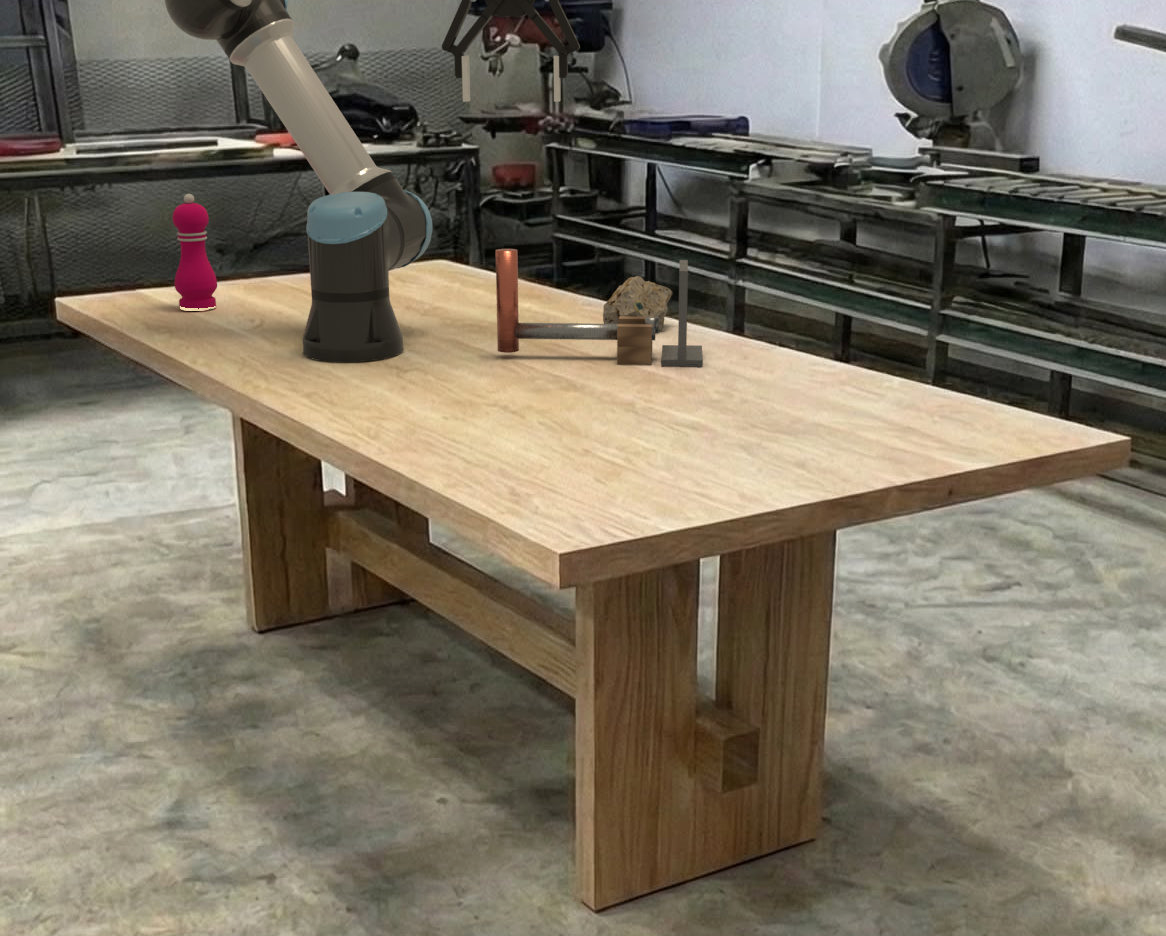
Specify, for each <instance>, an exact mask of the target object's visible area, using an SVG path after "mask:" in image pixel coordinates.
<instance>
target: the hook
mask: <svg viewBox="0 0 1166 936" xmlns="http://www.w3.org/2000/svg"><path fill="white" fill-rule="evenodd" d="M518 257H519V256H518V249H515V248H501V249H500V248H499V249H495V282H496V283H495V286H496V287H495V288H496V290H495V291H496V292H495V293H496V294H495V295H496V326H497V327H496V334H497V335H496V337H497V340H496V341H497V351H498V352H499V353H504V354H505V353H506V354H507V353H508V354H509V353H517V352H519V351H520V340H572V341H573V340H580V341H581V340H586V341H587V340H588V341H594V340H595V341H617V326H618V324H604V323H582V322H581V323H574V322H573V323H572V322H571V323H569V322H563V323H562V322H557V323H556V322H519V271H518V269H519V268H518V267H519V266H518V265H519V264H518V263H519V261H518ZM645 324H652V341H656V334H659V333H660V330H659V317H654V316H650V317H645Z"/></svg>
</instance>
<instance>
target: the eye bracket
mask: <svg viewBox="0 0 1166 936" xmlns="http://www.w3.org/2000/svg"><path fill="white" fill-rule="evenodd" d="M688 260H689V259H680V260H679V268H678V269H679V273H678V274H679V277H678V278H679V282H678V285H679V286H678V329H677V331H678V332H677V333H678V334H677V336H678V337H677V339H678V340H677V341H678V342H677V345H676V344H673V345H672V344H662V346H661V347H662V348H661V364H660V365H661V367H667V368H668V367H671V368H673V367H674V368H675V367H676V368H677V367H679V368H682V367H683V368H687V367H688V368H691V367H692V368H703V367H704V366H703V364H704V363H703V361H704V360H703V359H704V358H703V345H691V344H689V345H688V344H687V343H688V342H687V341H688V337H687V336H688V334H687V333H688V332H687V331H688V326H687V325H688V292H689V291H688V290H689V289H688V288H689V287H688V286H689V285H688V284H689V282H688V281H689V262H688Z"/></svg>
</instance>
